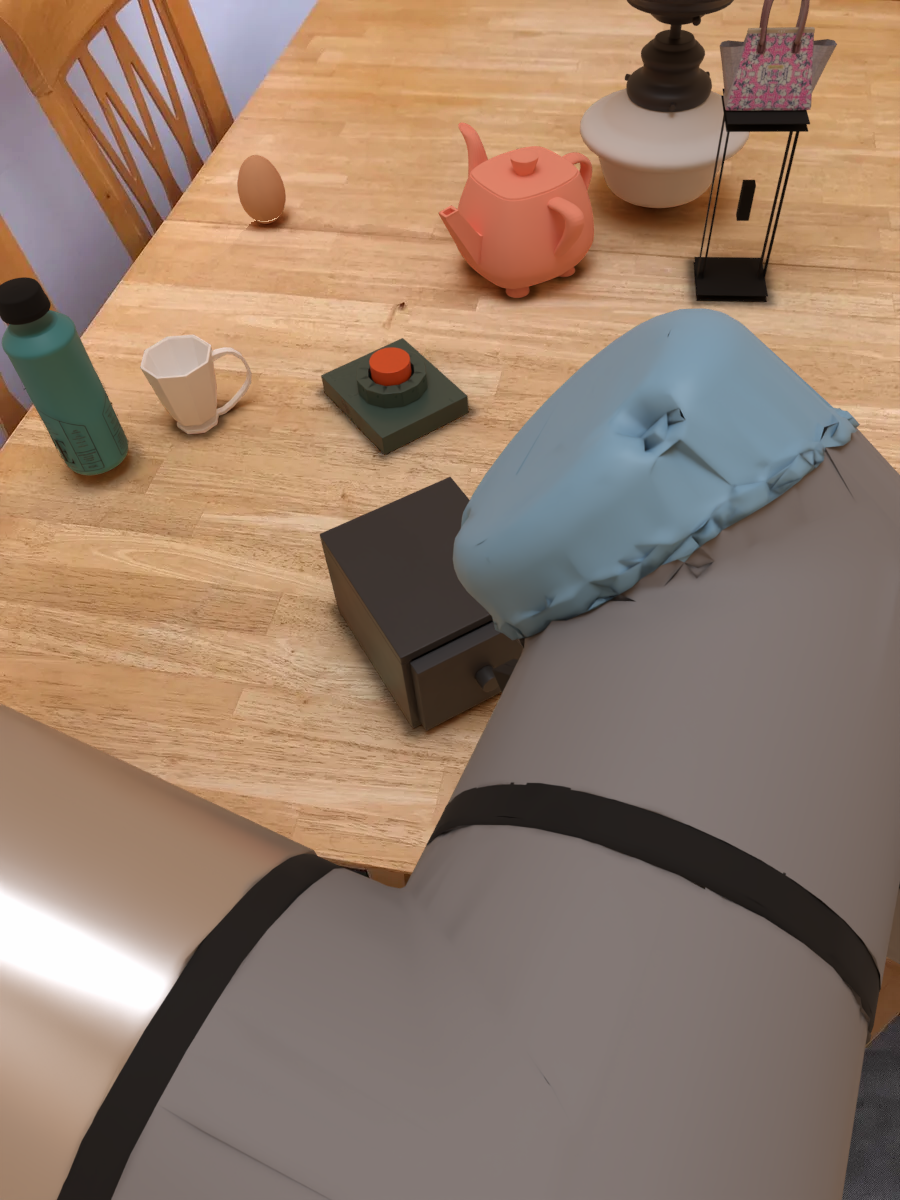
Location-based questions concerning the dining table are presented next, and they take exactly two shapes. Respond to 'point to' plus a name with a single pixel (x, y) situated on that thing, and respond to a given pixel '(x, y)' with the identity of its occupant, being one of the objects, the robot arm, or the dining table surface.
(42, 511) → the dining table surface
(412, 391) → the button block
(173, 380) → the cup
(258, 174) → the egg
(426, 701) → the drawer
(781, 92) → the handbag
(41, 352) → the beverage bottle
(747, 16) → the dining table surface
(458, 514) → the cabinet
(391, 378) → the button
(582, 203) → the teapot
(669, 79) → the light fixture
